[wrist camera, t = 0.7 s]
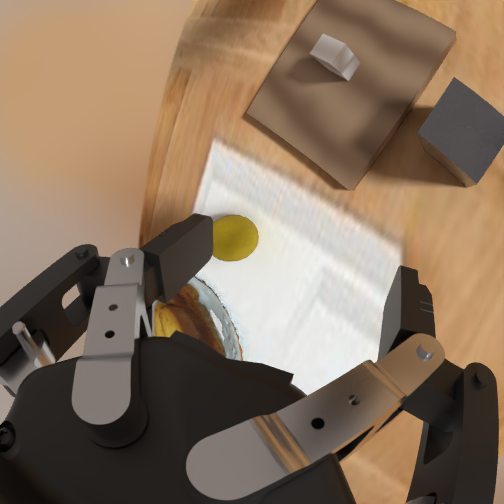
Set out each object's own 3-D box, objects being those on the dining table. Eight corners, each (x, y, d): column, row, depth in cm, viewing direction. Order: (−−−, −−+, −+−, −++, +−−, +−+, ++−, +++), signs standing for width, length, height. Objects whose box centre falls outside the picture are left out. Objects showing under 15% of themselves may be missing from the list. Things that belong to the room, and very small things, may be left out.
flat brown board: (340, -14, 25) (316, -44, 20) (456, 40, 20) (454, 6, 14) (255, 115, 36) (219, 105, 31) (353, 190, 31) (330, 189, 25)
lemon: (231, 218, 42) (188, 225, 35) (263, 208, 38) (221, 212, 32) (241, 258, 42) (200, 270, 35) (275, 250, 38) (235, 263, 32)
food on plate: (136, 309, 62) (111, 318, 57) (186, 237, 48) (153, 243, 43) (200, 410, 56) (177, 425, 51) (278, 372, 42) (252, 394, 37)
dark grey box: (424, 149, 26) (417, 132, 18) (452, 108, 23) (453, 77, 15) (466, 187, 24) (476, 184, 16) (496, 145, 21) (514, 126, 14)
